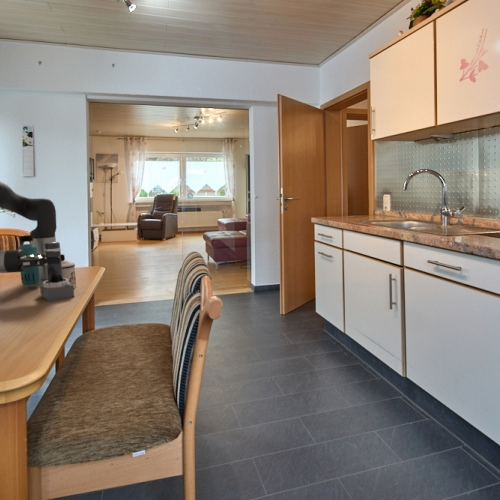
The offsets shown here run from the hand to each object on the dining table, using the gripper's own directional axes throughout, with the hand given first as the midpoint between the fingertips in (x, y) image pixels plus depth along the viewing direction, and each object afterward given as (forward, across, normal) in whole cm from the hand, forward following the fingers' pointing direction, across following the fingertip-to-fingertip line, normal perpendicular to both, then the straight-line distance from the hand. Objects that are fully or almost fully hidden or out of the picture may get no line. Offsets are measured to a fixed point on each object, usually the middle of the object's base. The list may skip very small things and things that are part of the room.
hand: (62, 258), depth 133 cm
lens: (-3, 0, +8) cm, 8 cm away
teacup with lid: (-4, +13, +13) cm, 19 cm away
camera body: (-3, 0, +13) cm, 13 cm away
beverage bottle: (-16, +16, +13) cm, 27 cm away
